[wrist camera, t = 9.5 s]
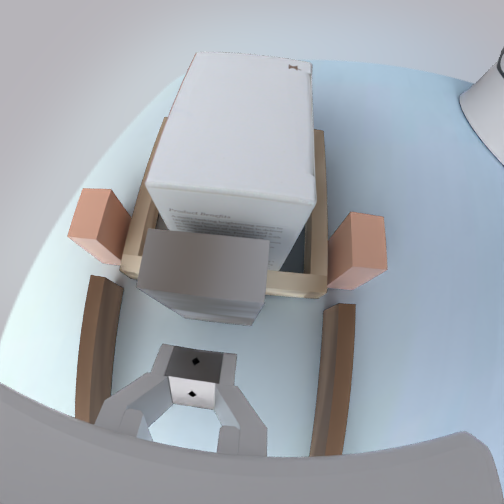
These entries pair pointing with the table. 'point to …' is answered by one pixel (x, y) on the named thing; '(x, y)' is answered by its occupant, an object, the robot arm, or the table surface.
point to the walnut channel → (330, 373)
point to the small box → (239, 151)
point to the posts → (339, 245)
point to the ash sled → (221, 261)
